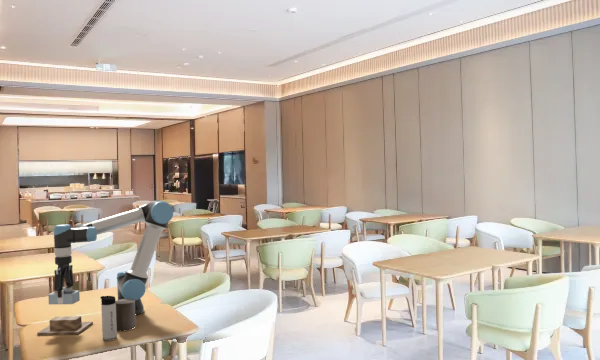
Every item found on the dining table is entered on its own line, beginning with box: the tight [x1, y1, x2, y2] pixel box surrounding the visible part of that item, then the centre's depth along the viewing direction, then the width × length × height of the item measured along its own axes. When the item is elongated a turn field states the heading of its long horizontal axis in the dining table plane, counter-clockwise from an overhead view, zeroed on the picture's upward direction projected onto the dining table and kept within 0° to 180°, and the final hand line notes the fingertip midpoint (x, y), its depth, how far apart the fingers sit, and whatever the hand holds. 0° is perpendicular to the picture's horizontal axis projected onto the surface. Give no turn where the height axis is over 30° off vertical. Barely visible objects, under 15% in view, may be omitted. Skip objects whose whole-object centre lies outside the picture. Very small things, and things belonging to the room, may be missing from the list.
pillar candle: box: [115, 299, 136, 332], centre depth 244 cm, size 10×10×15 cm
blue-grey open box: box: [48, 290, 81, 305], centre depth 244 cm, size 12×7×5 cm, turn 87°
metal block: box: [63, 286, 74, 294], centre depth 244 cm, size 4×4×4 cm
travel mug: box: [100, 295, 118, 342], centre depth 229 cm, size 6×7×20 cm
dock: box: [36, 315, 94, 336], centre depth 245 cm, size 20×16×6 cm
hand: (64, 301), depth 244 cm, fingers closed on blue-grey open box, 7 cm apart
